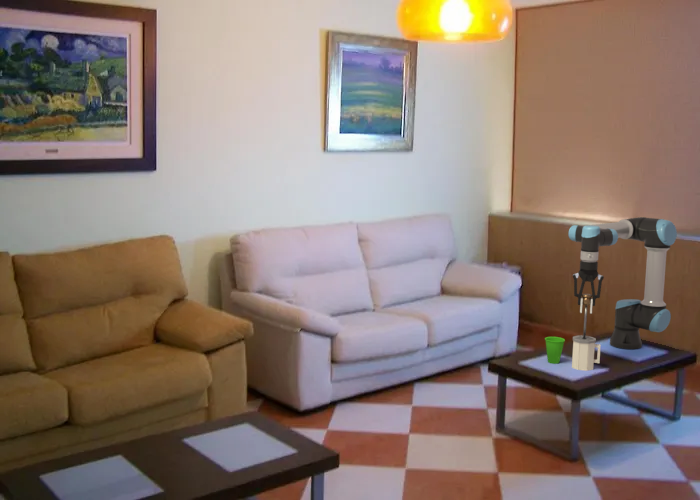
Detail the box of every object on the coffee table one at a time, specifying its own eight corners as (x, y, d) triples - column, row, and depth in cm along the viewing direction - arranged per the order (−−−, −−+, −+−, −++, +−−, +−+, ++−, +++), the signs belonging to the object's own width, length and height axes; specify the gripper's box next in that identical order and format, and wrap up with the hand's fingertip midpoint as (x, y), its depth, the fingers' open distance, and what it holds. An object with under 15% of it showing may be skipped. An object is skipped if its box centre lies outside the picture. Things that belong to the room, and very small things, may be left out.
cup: (562, 360, 379) (563, 337, 378) (565, 365, 370) (566, 342, 369) (542, 359, 380) (543, 336, 378) (544, 364, 371) (546, 341, 369)
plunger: (583, 340, 370) (586, 293, 367) (593, 343, 365) (596, 295, 362) (574, 341, 367) (577, 294, 364) (584, 345, 362) (587, 296, 359)
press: (571, 363, 374) (572, 334, 372) (598, 365, 371) (600, 337, 369) (571, 369, 364) (572, 340, 362) (599, 372, 361) (601, 342, 359)
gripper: (569, 260, 359) (566, 312, 363) (609, 263, 355) (605, 315, 358) (569, 258, 366) (566, 309, 370) (608, 260, 362) (605, 312, 366)
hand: (585, 312), depth 364 cm, fingers closed on plunger, 4 cm apart
